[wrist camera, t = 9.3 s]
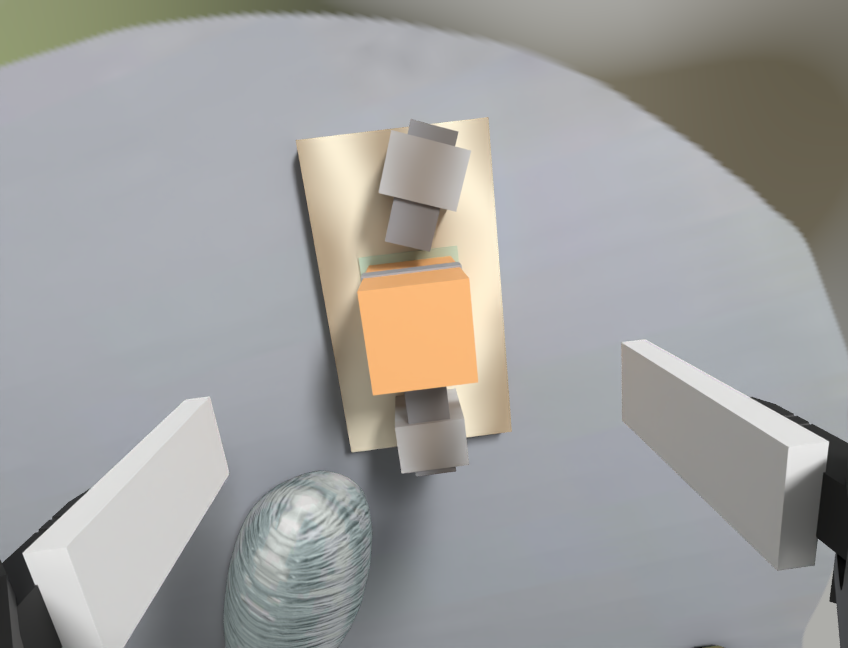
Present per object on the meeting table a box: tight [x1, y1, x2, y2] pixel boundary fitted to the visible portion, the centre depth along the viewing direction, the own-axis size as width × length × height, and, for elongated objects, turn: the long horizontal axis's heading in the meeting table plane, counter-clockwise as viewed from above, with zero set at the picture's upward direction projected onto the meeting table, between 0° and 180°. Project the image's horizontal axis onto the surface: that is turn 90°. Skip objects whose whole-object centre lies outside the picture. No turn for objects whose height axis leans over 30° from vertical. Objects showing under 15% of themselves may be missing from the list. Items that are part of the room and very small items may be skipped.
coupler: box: [357, 256, 478, 395], centre depth 25 cm, size 5×5×8 cm
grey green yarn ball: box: [224, 471, 372, 648], centre depth 32 cm, size 14×10×10 cm
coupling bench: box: [296, 117, 512, 477], centre depth 28 cm, size 11×20×6 cm, turn 7°
